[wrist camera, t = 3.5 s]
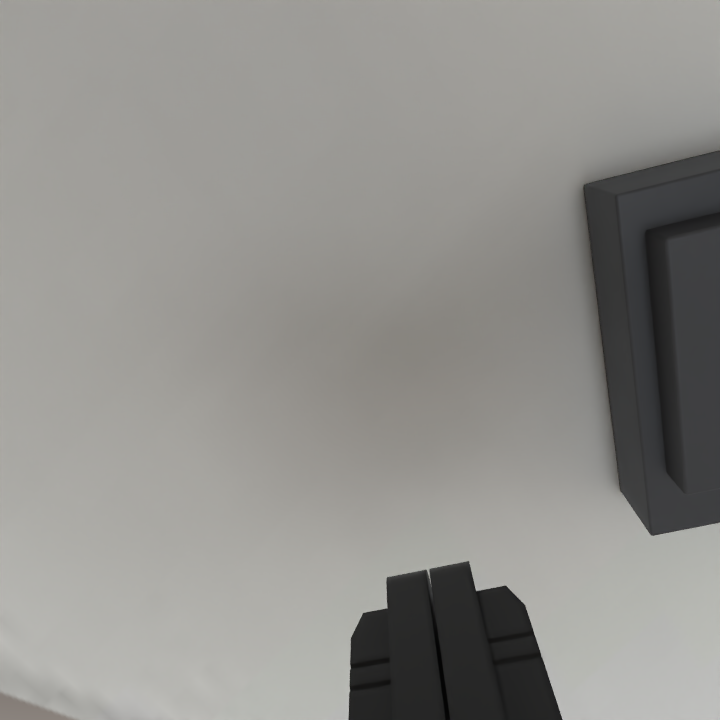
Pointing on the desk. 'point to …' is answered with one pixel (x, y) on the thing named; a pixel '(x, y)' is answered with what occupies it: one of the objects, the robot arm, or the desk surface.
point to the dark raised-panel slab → (662, 335)
